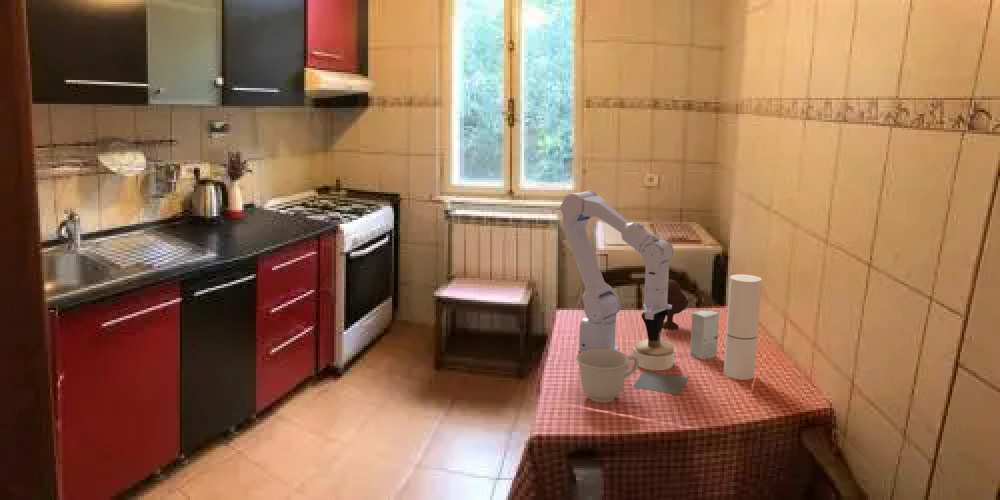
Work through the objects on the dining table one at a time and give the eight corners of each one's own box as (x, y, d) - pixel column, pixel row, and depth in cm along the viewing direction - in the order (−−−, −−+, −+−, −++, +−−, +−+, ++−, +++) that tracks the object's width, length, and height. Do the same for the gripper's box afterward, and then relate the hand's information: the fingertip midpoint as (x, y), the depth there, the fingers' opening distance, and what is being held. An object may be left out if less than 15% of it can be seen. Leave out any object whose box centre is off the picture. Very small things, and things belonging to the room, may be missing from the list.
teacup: (649, 405, 149) (651, 363, 147) (588, 414, 145) (589, 370, 143) (624, 384, 161) (626, 344, 159) (567, 391, 157) (567, 351, 154)
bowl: (628, 367, 171) (629, 353, 170) (638, 354, 180) (638, 340, 179) (669, 374, 166) (669, 359, 166) (676, 360, 175) (677, 346, 175)
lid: (631, 352, 170) (631, 334, 169) (640, 340, 178) (640, 323, 177) (669, 356, 166) (669, 339, 165) (676, 344, 174) (676, 327, 173)
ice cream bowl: (692, 332, 197) (695, 283, 194) (654, 332, 197) (656, 283, 194) (683, 321, 207) (685, 274, 204) (647, 321, 207) (649, 274, 204)
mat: (632, 388, 158) (632, 386, 158) (643, 372, 168) (643, 370, 168) (679, 396, 153) (680, 394, 153) (688, 379, 163) (688, 377, 163)
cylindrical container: (753, 372, 167) (761, 275, 162) (754, 382, 161) (762, 282, 156) (723, 368, 170) (730, 273, 164) (723, 379, 163) (729, 280, 158)
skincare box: (702, 361, 175) (704, 317, 172) (688, 356, 178) (691, 312, 176) (717, 356, 178) (720, 313, 175) (704, 351, 182) (706, 308, 179)
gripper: (666, 296, 161) (664, 349, 163) (677, 282, 173) (675, 331, 176) (637, 293, 164) (635, 345, 166) (650, 279, 176) (648, 328, 179)
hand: (654, 338), depth 172 cm, fingers closed on lid, 3 cm apart
